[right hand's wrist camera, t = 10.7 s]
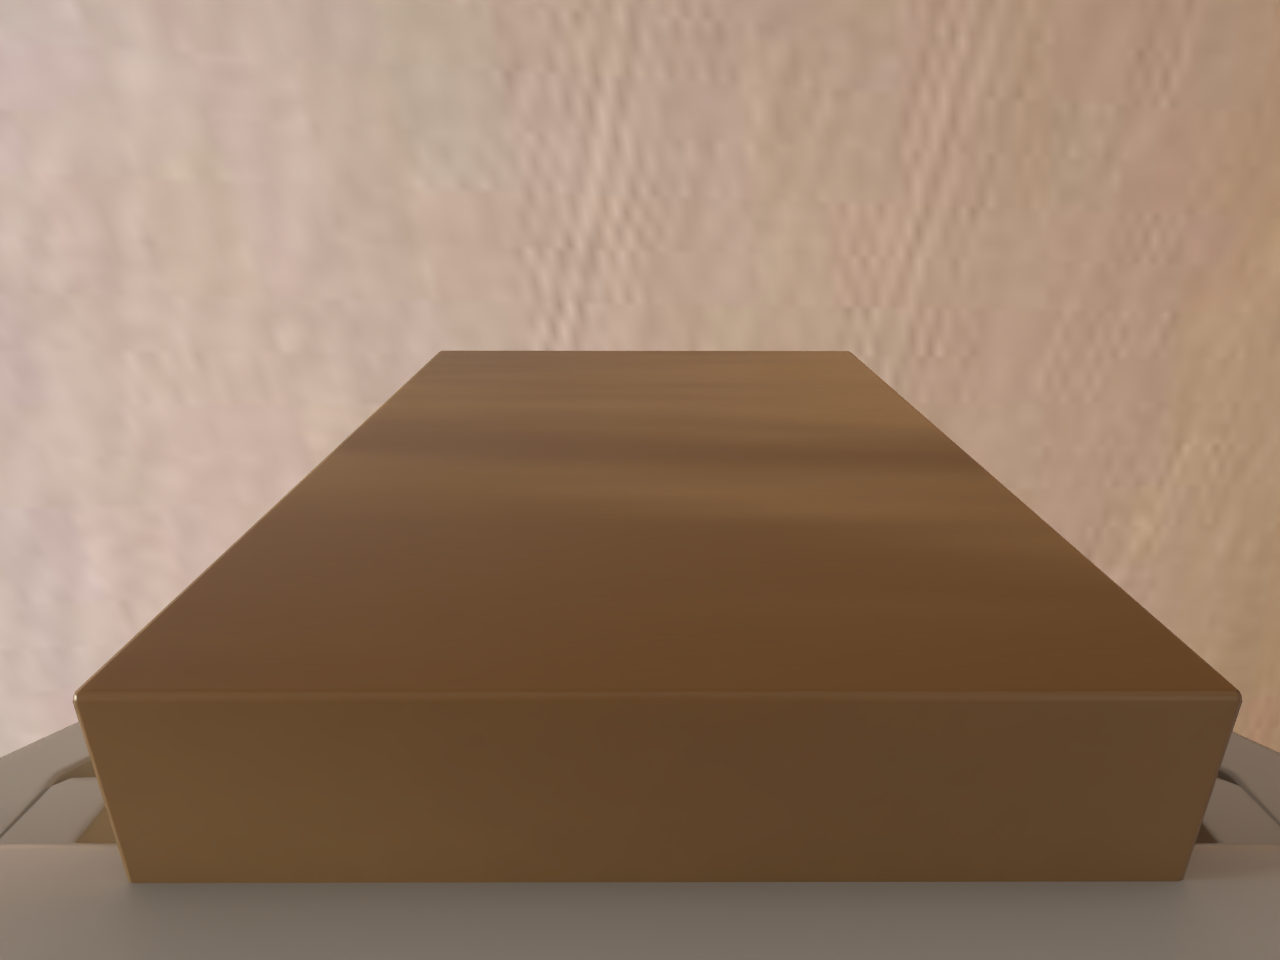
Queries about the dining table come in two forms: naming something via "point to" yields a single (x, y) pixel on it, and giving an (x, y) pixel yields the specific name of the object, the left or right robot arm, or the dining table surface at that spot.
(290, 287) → the dining table surface
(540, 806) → the box
